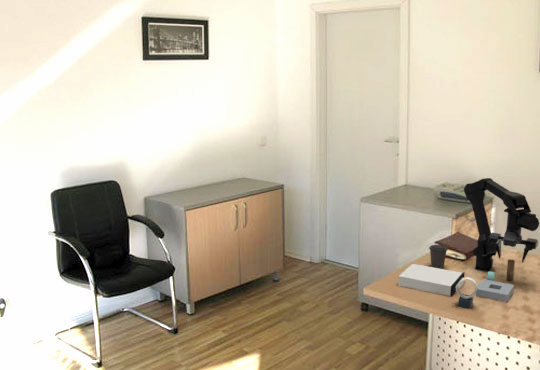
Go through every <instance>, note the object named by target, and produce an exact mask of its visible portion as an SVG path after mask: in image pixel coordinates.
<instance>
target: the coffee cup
mask: <svg viewBox="0 0 540 370" xmlns="http://www.w3.org/2000/svg"><path fill="white" fill-rule="evenodd" d="M428 249H429V252H430V264H431V265H430V267H434V268H439V269H444V267H445V262H446V255H447V251H448V247H447V246H445V245H442V244H434V245H433V244H432V245H430V246H429V248H428Z"/></svg>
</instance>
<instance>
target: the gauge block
mask: <svg viewBox="0 0 540 370" xmlns="http://www.w3.org/2000/svg"><path fill="white" fill-rule="evenodd" d="M514 289H515V284H511V283H507V282H501V281H500V282H499V281H495V280H494V281H490V280H487V279H485V278H484V279H482V281H481V282H480V283H479V284H478V289H477V291H476V293H475V295H476V296H475V297H479V296H480V297H479V298H484V297H485V298H484V299H488V298H489V300H494V301H498V302H504V303H508V302H509V300H510V298H511V297H512V295H513V294H514V291H515V290H514Z"/></svg>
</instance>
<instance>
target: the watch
mask: <svg viewBox="0 0 540 370" xmlns="http://www.w3.org/2000/svg"><path fill="white" fill-rule="evenodd" d="M466 281H470V282H471V283H473V285H474V286H475V288H474V291H473V292H472V293H471V294H470V295H469V294H465V293H462V292H461V291H460V290H459V289H461V287H463V285H464V283H465V282H466ZM478 286H479V284H478V282H477V281H476V280H475V279H474V278H473V277H469V276H464V278H462V279H461V280H460V281H459V282H458V284H457V285H456V287H455V288H456V293H457V295H458V296H459V298H458V305H457V307H459V308H464V309H469V310H470V309H471V307H472V306H473V304H474V303H473V302H474V296H475V295H476V291H477V289H478Z"/></svg>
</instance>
